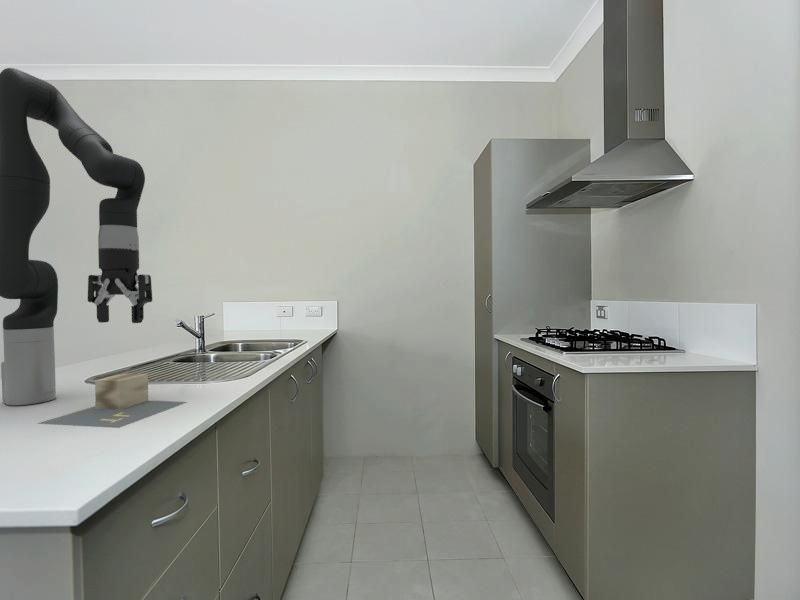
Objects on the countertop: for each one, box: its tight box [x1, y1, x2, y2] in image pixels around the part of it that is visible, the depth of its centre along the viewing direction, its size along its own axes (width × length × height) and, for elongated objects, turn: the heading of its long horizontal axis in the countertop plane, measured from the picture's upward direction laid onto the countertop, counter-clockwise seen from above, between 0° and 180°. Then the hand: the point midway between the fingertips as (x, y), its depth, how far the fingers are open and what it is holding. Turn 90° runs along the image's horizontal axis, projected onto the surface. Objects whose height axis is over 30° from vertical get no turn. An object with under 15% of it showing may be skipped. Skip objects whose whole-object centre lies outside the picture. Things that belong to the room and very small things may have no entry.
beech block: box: [94, 373, 149, 410], centre depth 100 cm, size 6×8×6 cm
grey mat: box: [37, 400, 188, 429], centre depth 93 cm, size 18×19×1 cm
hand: (120, 322), depth 99 cm, fingers open, 8 cm apart
